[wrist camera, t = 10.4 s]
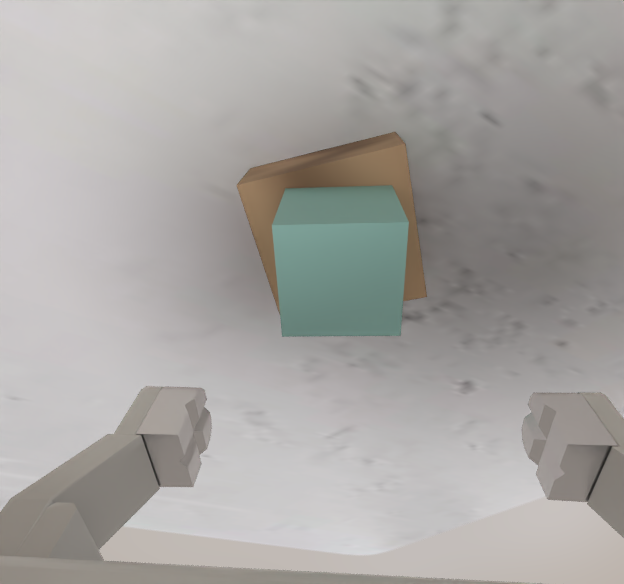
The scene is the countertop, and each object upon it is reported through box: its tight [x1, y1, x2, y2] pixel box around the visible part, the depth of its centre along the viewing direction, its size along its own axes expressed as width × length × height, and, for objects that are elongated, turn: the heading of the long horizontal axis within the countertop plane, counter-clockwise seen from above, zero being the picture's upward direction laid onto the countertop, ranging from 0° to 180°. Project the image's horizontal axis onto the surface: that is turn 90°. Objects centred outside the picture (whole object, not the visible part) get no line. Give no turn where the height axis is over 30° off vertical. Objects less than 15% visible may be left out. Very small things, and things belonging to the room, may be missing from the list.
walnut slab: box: [237, 132, 427, 314], centre depth 23 cm, size 8×8×4 cm
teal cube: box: [272, 185, 409, 337], centre depth 19 cm, size 5×5×5 cm
